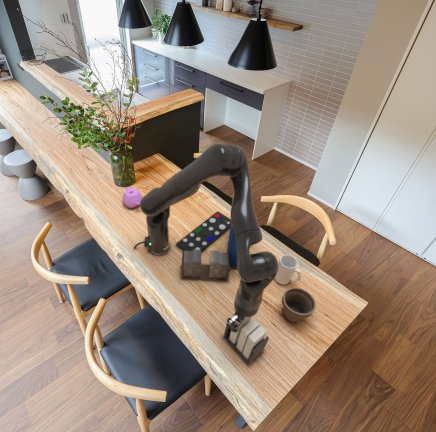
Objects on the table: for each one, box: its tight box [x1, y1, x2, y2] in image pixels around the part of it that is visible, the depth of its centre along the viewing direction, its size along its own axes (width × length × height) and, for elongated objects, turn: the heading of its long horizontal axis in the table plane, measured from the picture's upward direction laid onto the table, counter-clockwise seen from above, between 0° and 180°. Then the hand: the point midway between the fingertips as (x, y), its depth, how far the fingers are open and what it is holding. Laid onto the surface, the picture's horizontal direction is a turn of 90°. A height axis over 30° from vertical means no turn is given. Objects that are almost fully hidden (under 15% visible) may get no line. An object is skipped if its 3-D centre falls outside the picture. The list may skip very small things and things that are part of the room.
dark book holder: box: [223, 318, 270, 366], centre depth 104 cm, size 12×8×15 cm, turn 38°
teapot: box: [122, 186, 143, 209], centre depth 160 cm, size 10×15×9 cm
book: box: [226, 223, 237, 268], centre depth 131 cm, size 22×7×25 cm, turn 168°
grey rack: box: [180, 250, 231, 282], centre depth 128 cm, size 19×8×12 cm, turn 86°
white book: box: [229, 317, 252, 344], centre depth 106 cm, size 3×6×14 cm, turn 128°
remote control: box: [175, 211, 231, 253], centre depth 147 cm, size 11×30×2 cm, turn 135°
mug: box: [274, 254, 302, 285], centre depth 124 cm, size 10×7×12 cm, turn 42°
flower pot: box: [281, 287, 317, 322], centre depth 114 cm, size 12×11×10 cm
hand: (240, 324), depth 104 cm, fingers closed on white book, 6 cm apart
